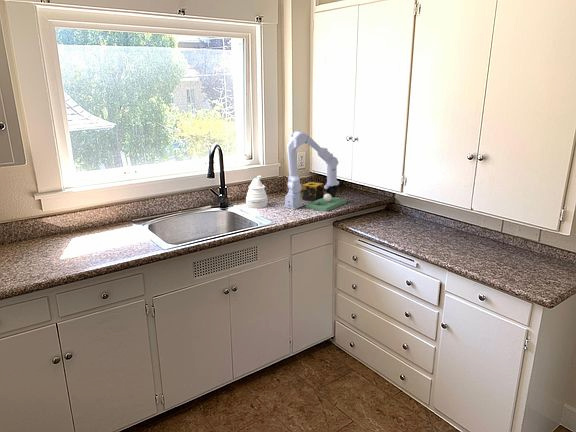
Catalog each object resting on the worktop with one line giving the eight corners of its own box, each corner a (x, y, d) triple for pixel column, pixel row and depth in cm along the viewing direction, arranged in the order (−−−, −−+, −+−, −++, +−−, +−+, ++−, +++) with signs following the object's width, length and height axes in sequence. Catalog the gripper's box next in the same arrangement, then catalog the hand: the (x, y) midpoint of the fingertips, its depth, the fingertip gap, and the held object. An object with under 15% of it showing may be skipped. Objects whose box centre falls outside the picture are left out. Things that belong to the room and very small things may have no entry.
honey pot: (269, 202, 264) (268, 174, 259) (265, 208, 252) (265, 178, 247) (248, 202, 266) (247, 173, 260) (244, 208, 253) (243, 178, 248)
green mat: (326, 211, 245) (326, 208, 245) (306, 207, 253) (306, 204, 253) (346, 202, 264) (346, 199, 263) (327, 198, 272) (327, 195, 271)
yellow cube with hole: (323, 198, 273) (324, 183, 270) (316, 202, 265) (316, 186, 262) (309, 196, 278) (309, 181, 275) (301, 200, 270) (301, 184, 267)
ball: (329, 203, 256) (328, 196, 253) (322, 202, 259) (321, 195, 256) (333, 200, 259) (332, 192, 257) (326, 198, 262) (325, 191, 259)
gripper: (331, 179, 250) (331, 201, 254) (343, 174, 261) (343, 196, 265) (321, 177, 254) (321, 199, 258) (333, 173, 265) (333, 194, 269)
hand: (331, 197), depth 261 cm, fingers open, 3 cm apart
